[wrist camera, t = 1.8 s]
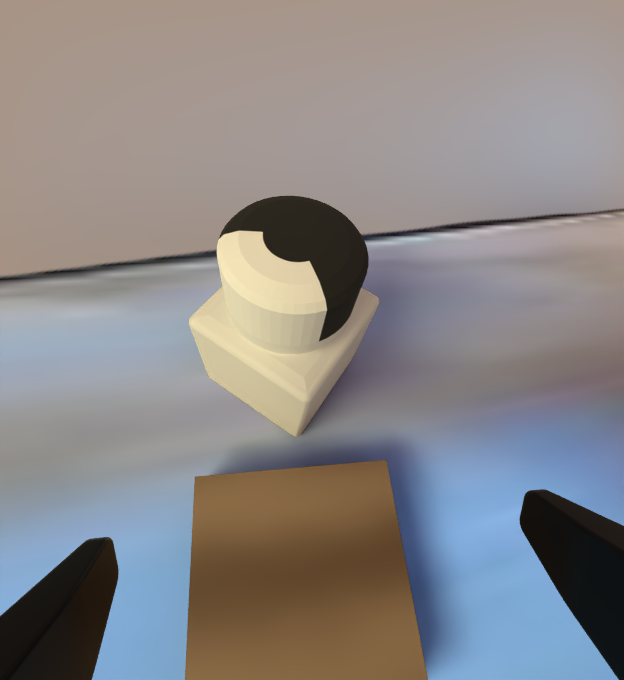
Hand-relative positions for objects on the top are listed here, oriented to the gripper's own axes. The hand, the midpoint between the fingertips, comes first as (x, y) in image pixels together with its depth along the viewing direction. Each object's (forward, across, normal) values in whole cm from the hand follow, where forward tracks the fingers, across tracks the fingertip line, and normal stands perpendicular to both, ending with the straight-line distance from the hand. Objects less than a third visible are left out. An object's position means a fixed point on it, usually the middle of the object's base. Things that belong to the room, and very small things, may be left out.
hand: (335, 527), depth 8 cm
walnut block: (+8, 0, +11) cm, 14 cm away
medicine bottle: (+17, 0, +3) cm, 17 cm away
